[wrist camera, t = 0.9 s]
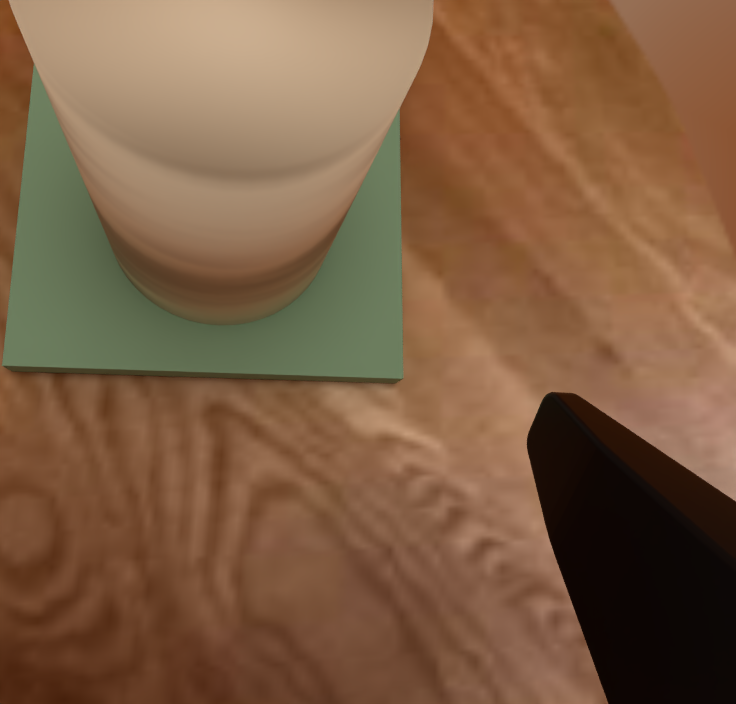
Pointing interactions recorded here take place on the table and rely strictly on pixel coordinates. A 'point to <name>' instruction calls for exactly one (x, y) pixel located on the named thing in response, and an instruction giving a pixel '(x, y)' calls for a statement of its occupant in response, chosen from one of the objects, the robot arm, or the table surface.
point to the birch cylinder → (224, 132)
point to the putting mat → (175, 334)
